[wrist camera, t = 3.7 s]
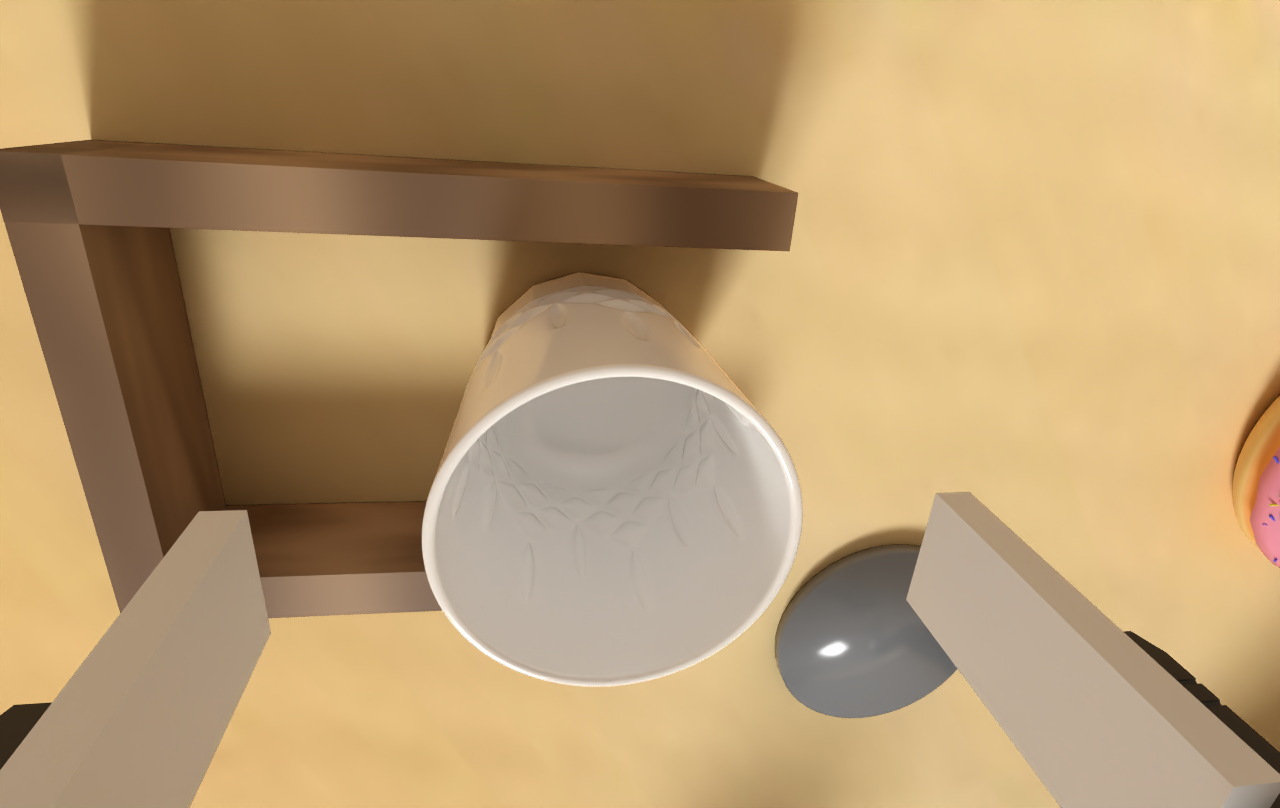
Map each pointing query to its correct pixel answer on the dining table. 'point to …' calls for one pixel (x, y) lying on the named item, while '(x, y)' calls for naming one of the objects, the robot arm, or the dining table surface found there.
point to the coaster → (859, 638)
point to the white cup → (606, 493)
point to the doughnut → (1260, 484)
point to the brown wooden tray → (281, 202)
